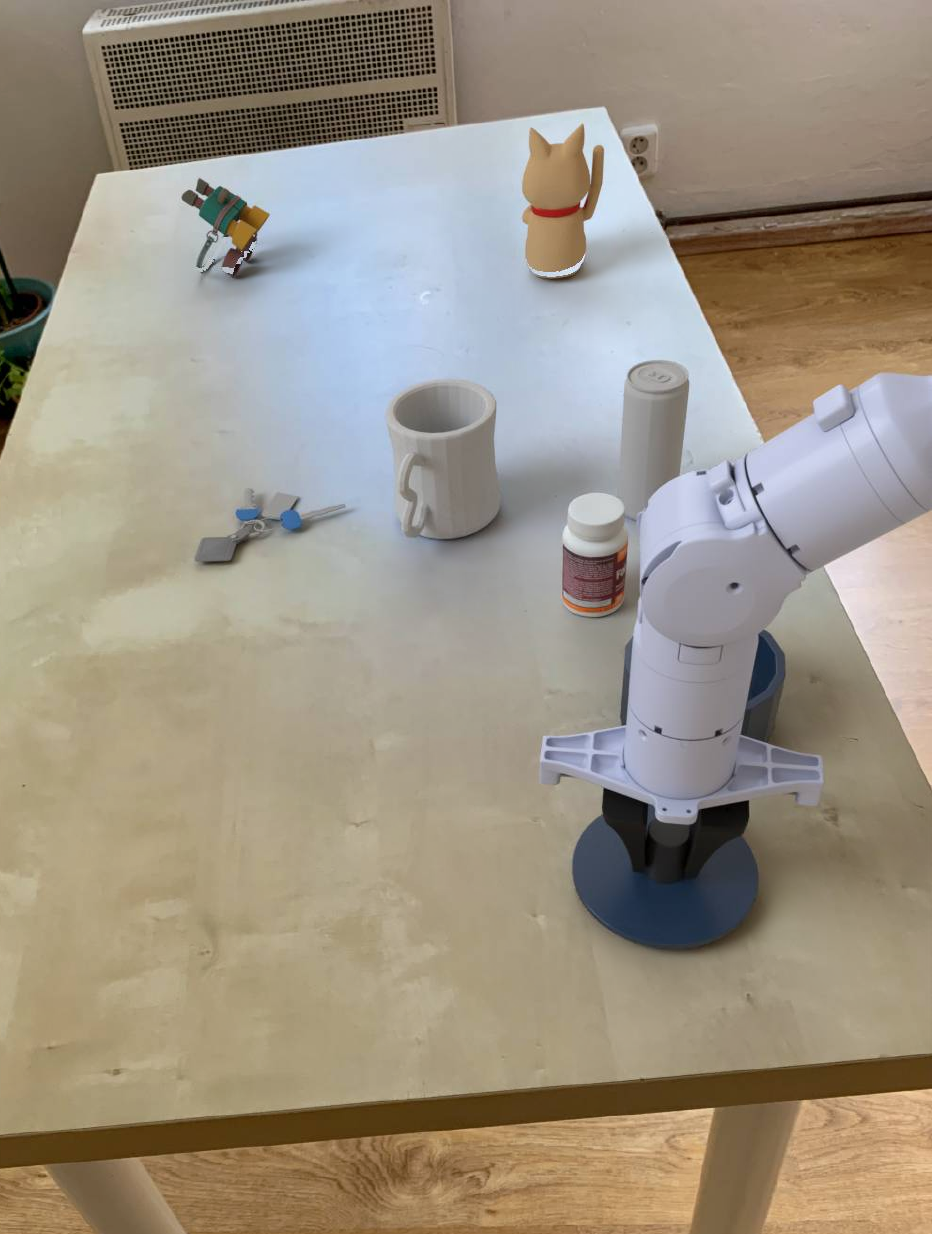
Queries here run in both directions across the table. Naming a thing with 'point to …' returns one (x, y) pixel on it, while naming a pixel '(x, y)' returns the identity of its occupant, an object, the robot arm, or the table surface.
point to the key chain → (276, 510)
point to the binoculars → (226, 221)
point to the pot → (761, 690)
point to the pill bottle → (594, 555)
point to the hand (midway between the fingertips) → (664, 861)
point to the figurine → (559, 200)
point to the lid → (663, 886)
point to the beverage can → (651, 431)
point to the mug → (444, 458)
